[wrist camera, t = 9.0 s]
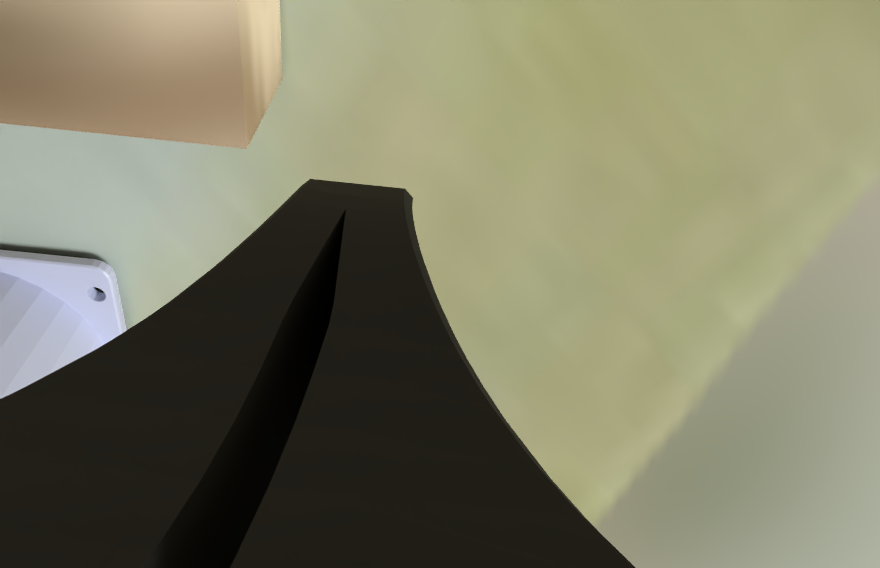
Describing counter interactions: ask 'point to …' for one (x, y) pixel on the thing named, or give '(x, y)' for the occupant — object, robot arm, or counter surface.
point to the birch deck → (141, 67)
